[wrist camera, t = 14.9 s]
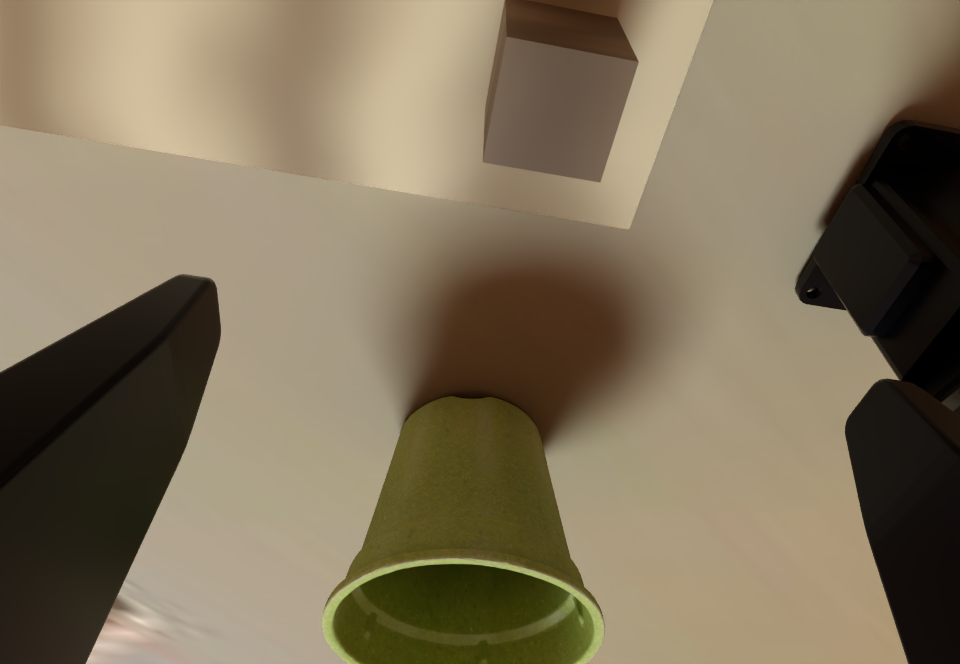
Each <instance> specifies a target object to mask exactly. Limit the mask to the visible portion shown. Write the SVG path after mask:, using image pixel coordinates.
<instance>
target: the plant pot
mask: <svg viewBox="0 0 960 664" xmlns="http://www.w3.org/2000/svg"><path fill="white" fill-rule="evenodd" d="M322 630H323V633H324V636H325V638H326V640H327V642H328V644H329V645H330V646H331V648H332V649H333V650H334V651H335V652H336V653H337V654H338V655H339V656H340V657H341V658H342V659H343V660H344V661H345V662H347V663H348V664H586V663H587V662H588V661H589V660H590V659H591V658H592V657H593V656H594V655H595V654H596V652H597V650H598V649H599V647H600V645H601V644H602V641H603V638H604V634H605V624H604V619H603V615H602V612H601V609H600V607H599V605H598V603H597V601H596V600H595V598H594V597H593V596H592V594H591V593H590V592H589V591H588V590H587V589H586V588H585V587H584V584H583V581H582V578H581V575H580V573H579V571H578V568H577V567H576V565H575V564H574V562H573V561H572V560H571V558H570V554H569V550H568V546H567V542H566V539H565V535H564V530H563V526H562V522H561V518H560V514H559V511H558V507H557V503H556V499H555V495H554V491H553V487H552V483H551V479H550V474H549V470H548V466H547V461H546V457H545V453H544V449H543V445H542V441H541V438H540V434H539V432H538V429H537V427H536V425H535V424H534V422H533V421H532V420H531V418H530V417H529V416H528V415H527V414H525V413H524V412H523V411H522V410H520V409H519V408H517V407H516V406H514V405H512V404H510V403H508V402H506V401H503V400H500V399H497V398H493V397H485V398H481V399H464V398H458V397H455V396H448V397H444V398H440V399H437V400H434V401H432V402H430V403H428V404H426V405H424V406H422V407H421V408H419V409H418V410H417V411H415V412H414V413H413V414H412V415H411V416H410V417H409V418H408V420H407V421H406V422H405V424H404V426H403V427H402V430H401V433H400V436H399V439H398V442H397V445H396V448H395V451H394V454H393V458H392V461H391V464H390V467H389V470H388V473H387V476H386V479H385V482H384V485H383V488H382V491H381V494H380V497H379V500H378V503H377V506H376V509H375V512H374V515H373V518H372V521H371V523H370V526H369V529H368V532H367V535H366V538H365V541H364V544H363V547H362V550H361V551H360V552H359V553H358V554H357V556H356V557H355V559H354V560H353V562H352V564H351V566H350V568H349V571H348V573H347V576H346V579H344V580H343V581H342V582H341V583H340V584H339V585H338V586H337V587H336V588H335V589H334V590H333V592H332V593H331V595H330V596H329V598H328V600H327V602H326V605H325V608H324V612H323V617H322Z"/></svg>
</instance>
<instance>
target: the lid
mask: <svg viewBox="0 0 960 664" xmlns="http://www.w3.org/2000/svg"><path fill="white" fill-rule="evenodd" d="M712 3H713V0H0V125H2V126H8V127H14V128H20V129H26V130H32V131H38V132H44V133H50V134H56V135H62V136H68V137H74V138H80V139H86V140H92V141H98V142H104V143H110V144H116V145H122V146H128V147H134V148H140V149H146V150H152V151H158V152H165V153H171V154H177V155H183V156H189V157H195V158H201V159H207V160H213V161H219V162H225V163H231V164H237V165H243V166H249V167H255V168H261V169H267V170H273V171H279V172H285V173H291V174H297V175H303V176H309V177H315V178H321V179H327V180H333V181H339V182H345V183H351V184H357V185H363V186H369V187H375V188H381V189H387V190H393V191H399V192H405V193H411V194H417V195H423V196H429V197H435V198H441V199H447V200H453V201H460V202H466V203H472V204H478V205H484V206H490V207H496V208H502V209H508V210H514V211H520V212H526V213H532V214H538V215H544V216H550V217H556V218H562V219H568V220H574V221H580V222H586V223H592V224H598V225H604V226H610V227H616V228H622V229H628V230H629V229H630V226H631V223H632V221H633V218H634V215H635V213H636V210H637V207H638V204H639V202H640V199H641V196H642V193H643V191H644V188H645V185H646V183H647V180H648V177H649V174H650V172H651V169H652V166H653V164H654V161H655V158H656V155H657V153H658V150H659V147H660V145H661V142H662V139H663V136H664V134H665V131H666V128H667V126H668V123H669V120H670V117H671V115H672V112H673V109H674V106H675V104H676V101H677V98H678V96H679V93H680V90H681V87H682V85H683V82H684V79H685V77H686V74H687V71H688V68H689V66H690V63H691V60H692V58H693V55H694V52H695V49H696V47H697V44H698V41H699V38H700V36H701V33H702V30H703V28H704V25H705V22H706V19H707V17H708V14H709V11H710V9H711V6H712Z"/></svg>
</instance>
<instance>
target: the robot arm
mask: <svg viewBox="0 0 960 664" xmlns="http://www.w3.org/2000/svg"><path fill="white" fill-rule="evenodd" d="M907 134H910V136H909V139H908V140H907V141H906V142H904V143H902V144H899V145H898V142H899V140H900V139H901V138H902V137H903V136H905V135H907ZM812 255H813V257H812V258H811V260H810V262H809V263H808V265H807V267H806V268H805V270H804V272H803V273H802V275H801V277H800V279H799V280H798V282H797V284H796V287H795V291H796V294H797V296H798V297H799V299H800V300H801V301H802V302H803V303H805V304H809V305H816V306H822V307H828V308H834V309H841V310H847V311H848V313H849V314H850V316H851V317H852V319H853V321H854V322H855V324H856V325H857V327H858V328H859V330H860V331H861V333H862V334H863V335H864V336H870V337H871V338H872V339H873V341H874V342H875V344H876V345H877V347H878V349H879V350H880V352H881V353H882V355H883V356H884V358H885V359H886V361H887V362H888V364H889V365H890V367H891V368H892V370H893V371H894V373H895V374H896V376H897V377H898V379H899V380H893V379H881V380H879V381H877V382H876V383H874V385H873V386H872V387H871V388H870V389H869V391H868V392H867V393H866V395H865V396H864V397H863V398H862V400H861V401H860V402H859V404H858V405H857V406H856V407H855V409H854V410H853V411H852V413H851V414H850V415H849V417H848V419H847V421H846V426H845V436H846V441H847V445H848V450H849V455H850V460H851V465H852V469H853V474H854V479H855V484H856V488H857V493H858V498H859V503H860V508H861V512H862V517H863V521H864V525H865V529H866V533H867V537H868V540H869V543H870V547H871V550H872V553H873V556H874V559H875V562H876V566H877V569H878V572H879V575H880V578H881V581H882V584H883V587H884V590H885V593H886V596H887V600H888V603H889V606H890V609H891V612H892V615H893V618H894V621H895V624H896V627H897V631H898V634H899V637H900V640H901V643H902V646H903V649H904V652H905V655H906V658H907V661H908V664H960V129H955V128H949V127H944V126H939V125H933V124H928V123H923V122H917V121H912V120H903V121H900V122H898V123H896V124H894V125H893V126H891V127H890V128H889V129H888V130H887V132H886V133H885V134H884V136H883V138H882V139H881V141H880V143H879V144H878V146H877V148H876V150H875V151H874V153H873V155H872V156H871V158H870V160H869V161H868V163H867V165H866V167H865V168H864V170H863V172H862V173H861V175H860V177H859V178H858V180H857V182H856V184H855V185H854V186H853V187H852V188H851V189H850V190H849V191H848V193H847V195H846V196H845V198H844V200H843V201H842V203H841V205H840V206H839V208H838V210H837V212H836V213H835V215H834V217H833V218H832V220H831V222H830V224H829V225H828V227H827V229H826V230H825V232H824V234H823V235H822V237H821V239H820V241H819V242H818V244H817V246H816V247H815V249H814V251H813V253H812ZM813 287H817V288H816V289H815V290H813V291H811V292H807V291H808V290H809V289H810V288H813ZM220 336H221V324H220V314H219V304H218V294H217V287H216V285H215V282H214V281H213V280H212V279H210V278H206V277H200V276H193V275H186V274H181V275H177V276H175V277H173V278H171V279H170V280H168V281H166V282H164V283H162V284H160V285H159V286H157V287H155V288H153V289H151V290H149V291H148V292H146V293H144V294H142V295H140V296H139V297H137V298H135V299H133V300H131V301H129V302H128V303H126V304H124V305H122V306H120V307H118V308H117V309H115V310H113V311H111V312H109V313H108V314H106V315H104V316H102V317H100V318H98V319H97V320H95V321H93V322H91V323H89V324H87V325H86V326H84V327H82V328H80V329H78V330H76V331H75V332H73V333H71V334H69V335H67V336H66V337H64V338H62V339H60V340H58V341H56V342H55V343H53V344H51V345H49V346H47V347H45V348H44V349H42V350H40V351H38V352H36V353H35V354H33V355H31V356H29V357H27V358H25V359H24V360H22V361H20V362H18V363H16V364H14V365H13V366H11V367H9V368H7V369H5V370H4V371H2V372H0V664H86V662H87V660H88V657H89V655H90V653H91V651H92V649H93V647H94V645H95V642H96V640H97V638H98V636H99V634H100V632H101V630H102V627H103V625H104V623H105V621H106V619H107V617H108V614H109V612H110V610H111V608H112V606H113V604H114V602H115V599H116V597H117V595H118V593H119V591H120V589H121V587H122V584H123V582H124V580H125V578H126V576H127V574H128V572H129V569H130V567H131V565H132V563H133V561H134V559H135V556H136V554H137V552H138V550H139V548H140V546H141V544H142V541H143V539H144V537H145V535H146V533H147V531H148V529H149V526H150V524H151V522H152V520H153V518H154V516H155V514H156V511H157V509H158V507H159V505H160V503H161V501H162V498H163V496H164V494H165V492H166V490H167V488H168V486H169V483H170V481H171V479H172V477H173V475H174V473H175V471H176V468H177V466H178V464H179V462H180V460H181V457H182V455H183V453H184V450H185V448H186V446H187V443H188V440H189V437H190V434H191V431H192V428H193V425H194V422H195V419H196V416H197V412H198V409H199V406H200V403H201V400H202V397H203V394H204V391H205V387H206V384H207V381H208V378H209V375H210V372H211V369H212V366H213V362H214V359H215V356H216V353H217V350H218V347H219V342H220Z"/></svg>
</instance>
